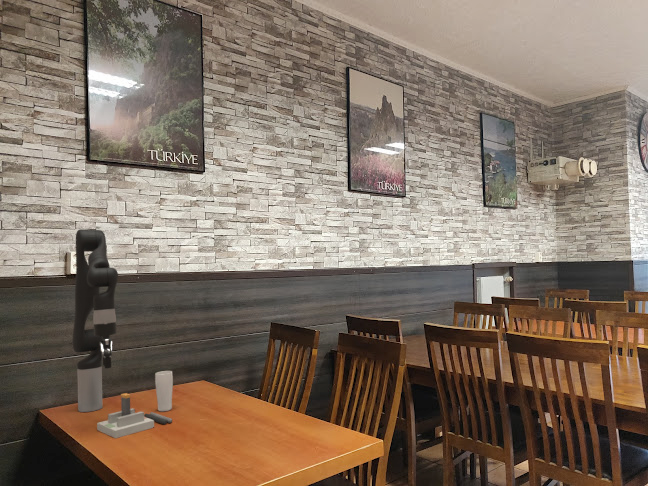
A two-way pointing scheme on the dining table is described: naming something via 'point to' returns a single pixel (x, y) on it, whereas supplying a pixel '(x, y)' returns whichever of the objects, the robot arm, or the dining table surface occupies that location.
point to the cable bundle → (158, 418)
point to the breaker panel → (125, 429)
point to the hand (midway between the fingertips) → (107, 366)
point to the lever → (125, 404)
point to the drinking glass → (164, 390)
